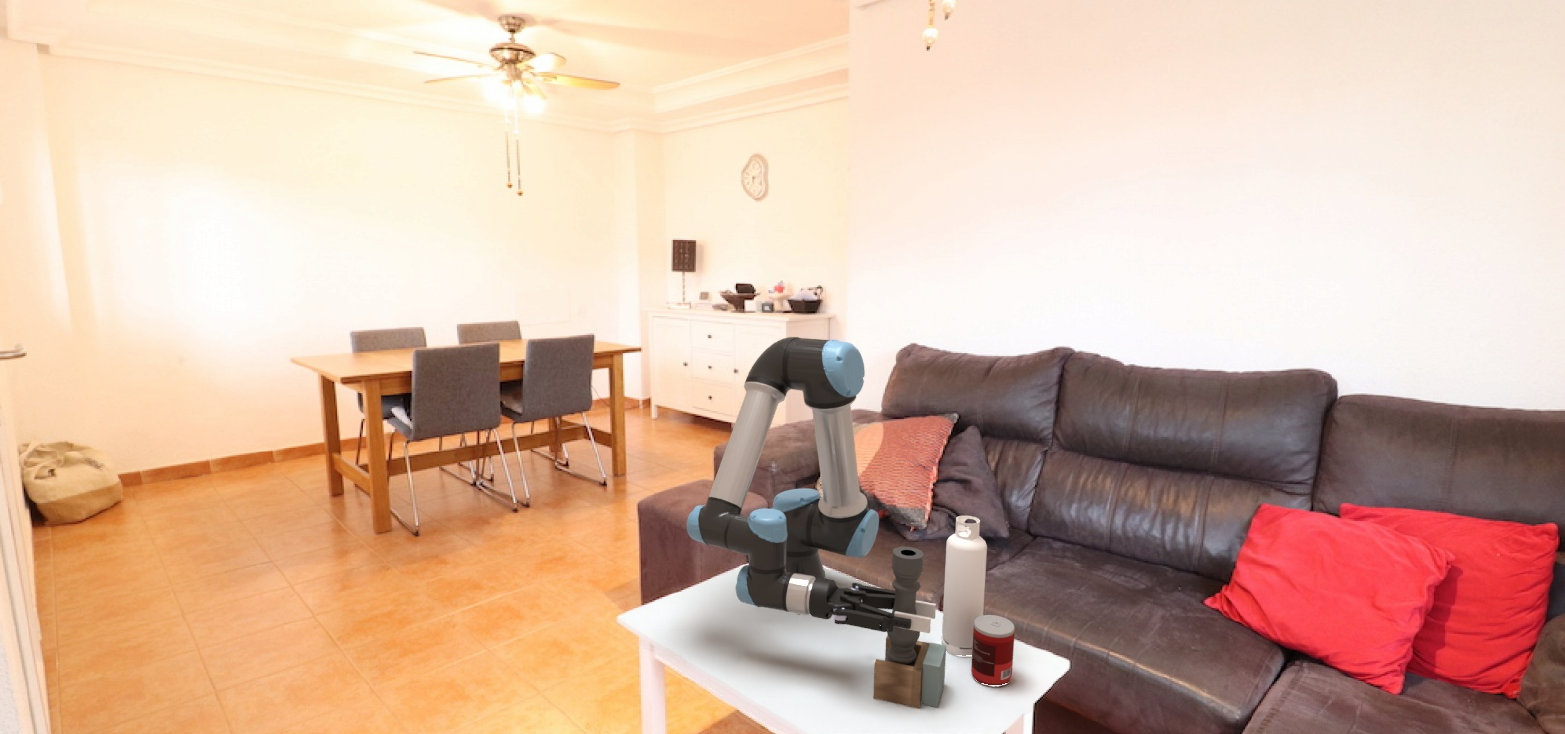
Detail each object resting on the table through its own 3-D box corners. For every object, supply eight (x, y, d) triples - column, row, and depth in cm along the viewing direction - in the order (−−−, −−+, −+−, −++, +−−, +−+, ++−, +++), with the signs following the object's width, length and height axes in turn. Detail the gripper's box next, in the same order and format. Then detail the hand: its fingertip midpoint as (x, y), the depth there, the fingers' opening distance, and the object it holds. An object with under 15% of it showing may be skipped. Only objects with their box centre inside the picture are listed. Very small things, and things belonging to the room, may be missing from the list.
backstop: (921, 704, 135) (923, 663, 134) (928, 680, 142) (930, 642, 141) (937, 707, 134) (939, 666, 132) (944, 684, 141) (946, 645, 140)
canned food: (1010, 669, 147) (1014, 617, 145) (1012, 691, 139) (1015, 637, 137) (971, 662, 149) (974, 611, 147) (970, 684, 141) (973, 631, 140)
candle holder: (916, 689, 136) (924, 561, 132) (882, 684, 137) (890, 557, 134) (917, 670, 142) (925, 548, 138) (885, 666, 143) (892, 544, 140)
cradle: (873, 697, 136) (874, 662, 135) (886, 667, 147) (887, 634, 145) (919, 708, 133) (920, 672, 132) (929, 676, 144) (930, 643, 143)
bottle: (935, 648, 154) (941, 520, 150) (951, 633, 160) (957, 510, 156) (971, 661, 149) (979, 529, 145) (986, 645, 156) (994, 518, 151)
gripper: (826, 594, 153) (939, 615, 145) (797, 636, 136) (923, 661, 128) (827, 560, 152) (941, 579, 144) (798, 597, 135) (925, 621, 127)
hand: (932, 618), depth 136 cm, fingers closed on candle holder, 5 cm apart
